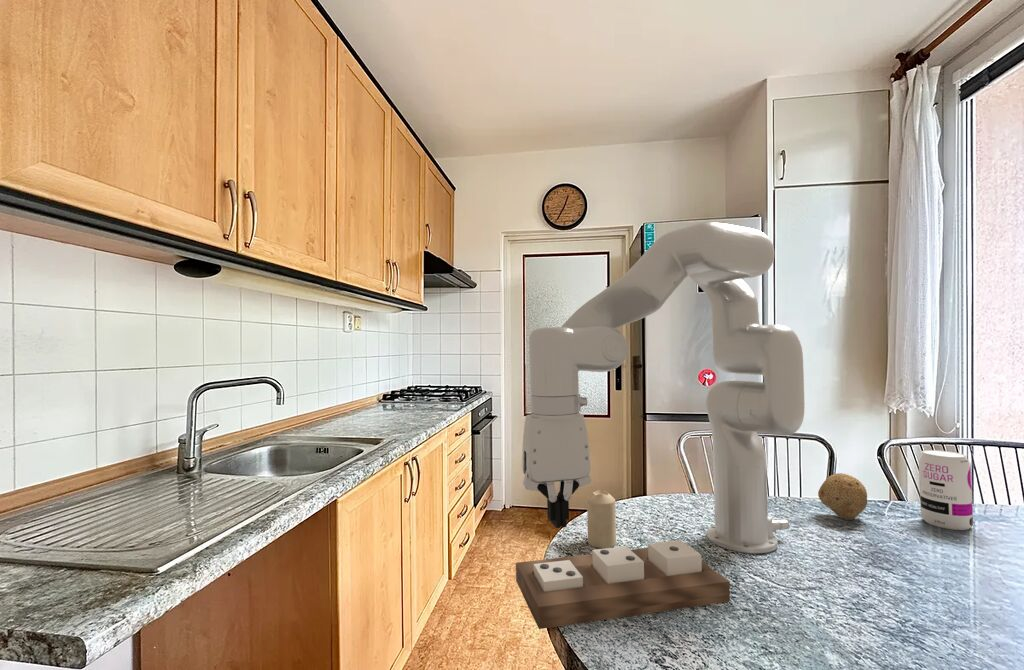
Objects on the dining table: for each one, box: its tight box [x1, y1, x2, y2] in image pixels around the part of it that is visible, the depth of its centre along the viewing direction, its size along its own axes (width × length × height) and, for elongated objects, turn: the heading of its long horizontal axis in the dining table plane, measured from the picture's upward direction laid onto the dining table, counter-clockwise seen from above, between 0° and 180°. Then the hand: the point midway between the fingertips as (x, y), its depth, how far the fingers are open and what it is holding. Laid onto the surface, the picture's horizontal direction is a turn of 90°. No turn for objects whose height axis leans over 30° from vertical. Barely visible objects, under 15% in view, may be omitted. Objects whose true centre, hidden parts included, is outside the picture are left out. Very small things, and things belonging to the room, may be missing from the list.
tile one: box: [647, 539, 703, 576], centre depth 77 cm, size 6×6×3 cm
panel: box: [515, 547, 731, 630], centre depth 75 cm, size 30×14×3 cm, turn 102°
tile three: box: [534, 560, 583, 592], centre depth 73 cm, size 6×6×3 cm
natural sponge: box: [817, 472, 868, 521], centre depth 105 cm, size 9×9×10 cm
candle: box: [586, 489, 617, 549], centre depth 94 cm, size 6×6×10 cm
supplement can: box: [918, 449, 974, 531], centre depth 101 cm, size 8×8×15 cm
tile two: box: [591, 545, 644, 584], centre depth 75 cm, size 6×6×3 cm
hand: (558, 524), depth 74 cm, fingers closed
